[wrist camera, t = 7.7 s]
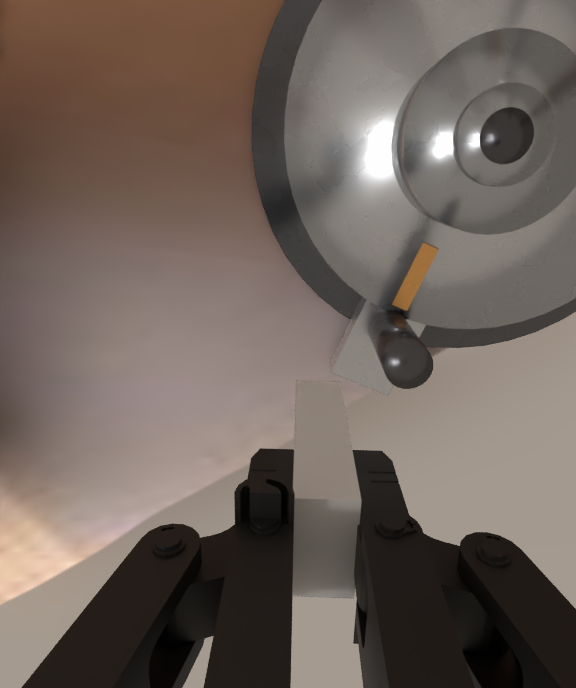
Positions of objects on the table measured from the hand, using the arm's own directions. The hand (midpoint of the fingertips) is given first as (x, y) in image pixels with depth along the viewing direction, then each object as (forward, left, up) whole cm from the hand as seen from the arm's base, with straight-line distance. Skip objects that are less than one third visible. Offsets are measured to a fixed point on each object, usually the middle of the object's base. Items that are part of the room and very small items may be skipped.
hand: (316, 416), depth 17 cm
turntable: (+11, +6, -16) cm, 20 cm away
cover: (+11, +7, -14) cm, 19 cm away
